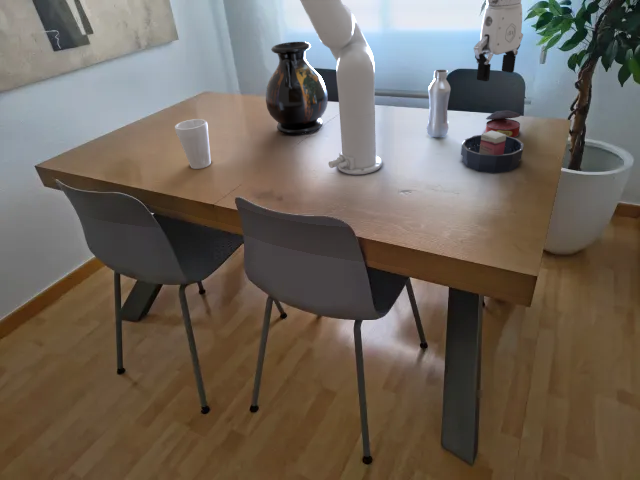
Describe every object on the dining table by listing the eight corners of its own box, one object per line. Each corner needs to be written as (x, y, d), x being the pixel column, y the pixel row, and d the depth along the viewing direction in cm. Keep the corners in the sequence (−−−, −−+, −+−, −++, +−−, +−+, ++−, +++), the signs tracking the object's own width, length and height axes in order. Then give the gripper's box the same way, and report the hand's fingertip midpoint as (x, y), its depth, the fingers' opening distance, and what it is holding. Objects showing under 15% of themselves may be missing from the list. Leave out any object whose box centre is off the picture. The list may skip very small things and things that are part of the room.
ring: (496, 178, 114) (498, 160, 111) (449, 162, 125) (450, 145, 122) (532, 161, 121) (535, 143, 118) (485, 146, 132) (487, 130, 129)
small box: (477, 161, 124) (480, 133, 120) (488, 156, 126) (491, 129, 121) (492, 166, 120) (495, 138, 116) (503, 162, 122) (507, 134, 118)
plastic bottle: (442, 141, 138) (447, 74, 127) (422, 137, 142) (425, 72, 131) (451, 134, 142) (456, 69, 132) (431, 131, 146) (434, 67, 135)
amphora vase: (324, 138, 149) (316, 49, 134) (263, 139, 153) (249, 53, 138) (334, 117, 167) (328, 37, 151) (278, 119, 171) (267, 41, 156)
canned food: (484, 149, 142) (472, 120, 139) (501, 136, 146) (490, 108, 144) (516, 140, 132) (503, 109, 130) (533, 127, 136) (521, 97, 134)
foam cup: (185, 173, 135) (174, 131, 128) (185, 161, 142) (174, 122, 135) (216, 167, 136) (207, 126, 129) (214, 156, 144) (205, 117, 137)
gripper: (493, 5, 96) (485, 86, 105) (541, -6, 104) (529, 70, 113) (465, 4, 101) (460, 81, 111) (512, -6, 109) (503, 67, 118)
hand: (495, 76), depth 112 cm, fingers open, 9 cm apart
